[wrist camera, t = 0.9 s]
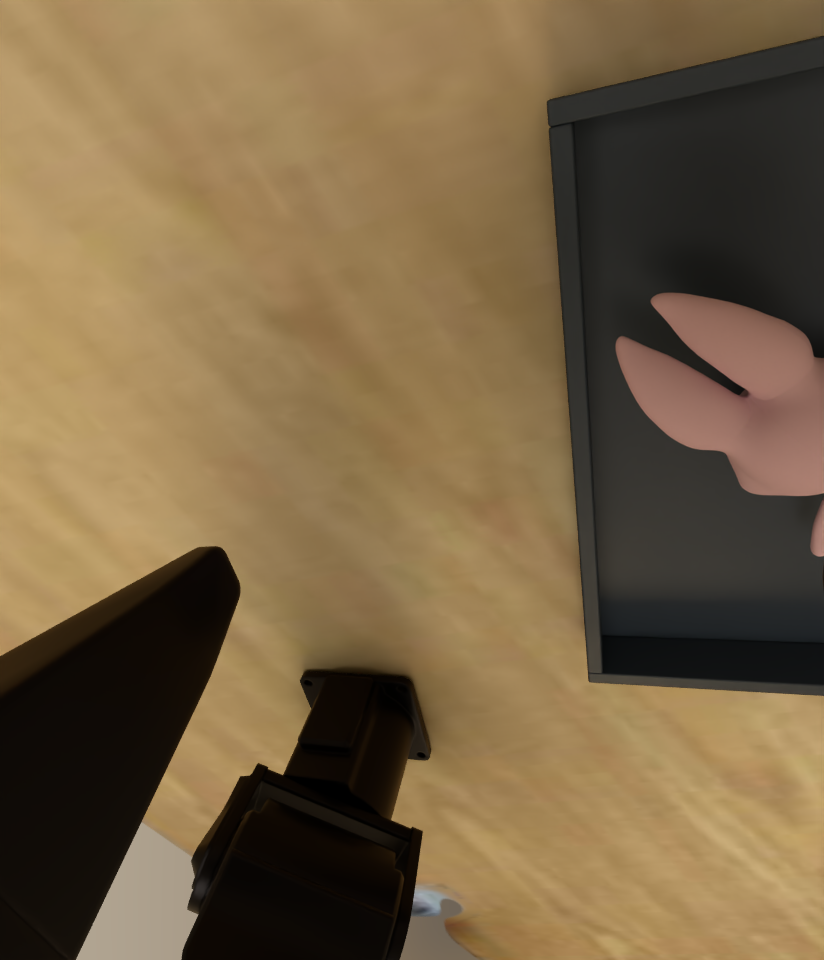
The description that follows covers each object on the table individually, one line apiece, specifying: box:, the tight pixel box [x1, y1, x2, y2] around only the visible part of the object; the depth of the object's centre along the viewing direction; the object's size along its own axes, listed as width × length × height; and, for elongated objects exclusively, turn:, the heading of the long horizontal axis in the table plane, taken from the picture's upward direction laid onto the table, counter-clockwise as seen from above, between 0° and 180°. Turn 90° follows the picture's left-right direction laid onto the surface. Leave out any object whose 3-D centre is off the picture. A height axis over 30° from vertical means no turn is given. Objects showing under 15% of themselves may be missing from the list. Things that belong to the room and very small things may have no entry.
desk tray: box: [547, 36, 824, 696], centre depth 19 cm, size 21×15×3 cm
